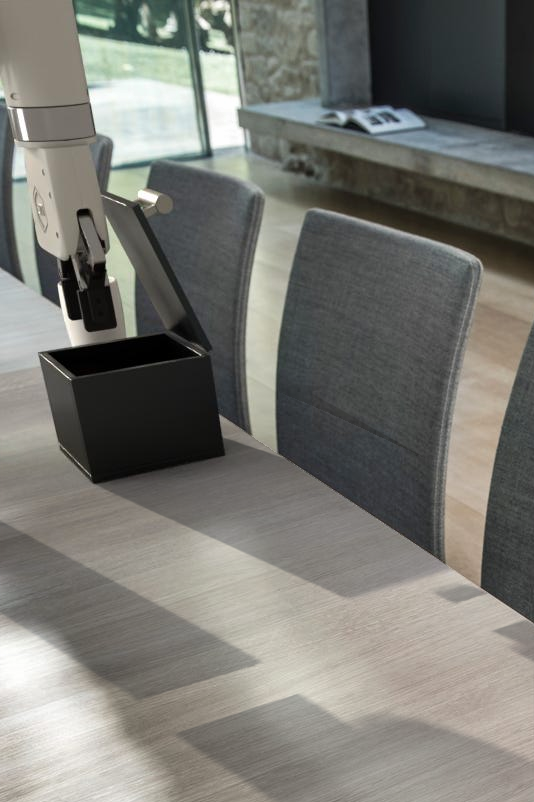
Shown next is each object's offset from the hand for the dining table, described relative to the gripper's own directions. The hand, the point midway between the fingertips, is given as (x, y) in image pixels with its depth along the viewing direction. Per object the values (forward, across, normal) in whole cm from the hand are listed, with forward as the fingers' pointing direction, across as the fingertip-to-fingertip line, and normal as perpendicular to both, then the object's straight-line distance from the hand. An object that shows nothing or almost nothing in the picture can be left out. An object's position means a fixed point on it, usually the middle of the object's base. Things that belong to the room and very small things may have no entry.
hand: (92, 322), depth 118 cm
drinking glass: (+15, -17, +4) cm, 23 cm away
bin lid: (-4, 0, +7) cm, 8 cm away
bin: (+14, 0, +2) cm, 15 cm away
